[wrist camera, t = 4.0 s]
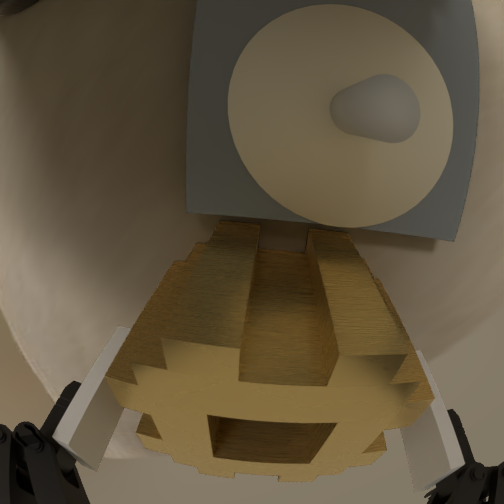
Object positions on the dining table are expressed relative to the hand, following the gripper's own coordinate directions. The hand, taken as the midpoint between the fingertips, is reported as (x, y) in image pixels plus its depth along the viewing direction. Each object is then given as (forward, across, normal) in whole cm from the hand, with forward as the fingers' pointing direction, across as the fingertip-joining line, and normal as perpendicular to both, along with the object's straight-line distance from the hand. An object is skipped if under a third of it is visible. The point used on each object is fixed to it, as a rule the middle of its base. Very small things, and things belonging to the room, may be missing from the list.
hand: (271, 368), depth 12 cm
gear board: (+3, +2, +16) cm, 17 cm away
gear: (+3, 0, 0) cm, 3 cm away
